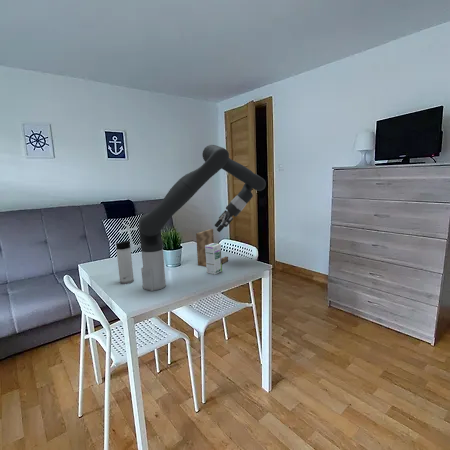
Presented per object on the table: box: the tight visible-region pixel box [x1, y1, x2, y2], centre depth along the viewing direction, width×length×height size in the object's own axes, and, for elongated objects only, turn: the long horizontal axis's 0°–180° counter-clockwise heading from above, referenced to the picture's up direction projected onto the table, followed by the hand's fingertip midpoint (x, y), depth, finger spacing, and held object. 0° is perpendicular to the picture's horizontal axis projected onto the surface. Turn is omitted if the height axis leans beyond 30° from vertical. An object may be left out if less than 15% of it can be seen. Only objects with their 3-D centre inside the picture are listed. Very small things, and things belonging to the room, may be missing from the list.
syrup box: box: [205, 242, 223, 275], centre depth 141 cm, size 6×6×14 cm
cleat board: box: [195, 228, 229, 267], centre depth 156 cm, size 14×11×18 cm
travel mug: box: [115, 240, 135, 285], centre depth 132 cm, size 6×7×20 cm
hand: (216, 228), depth 151 cm, fingers open, 8 cm apart
